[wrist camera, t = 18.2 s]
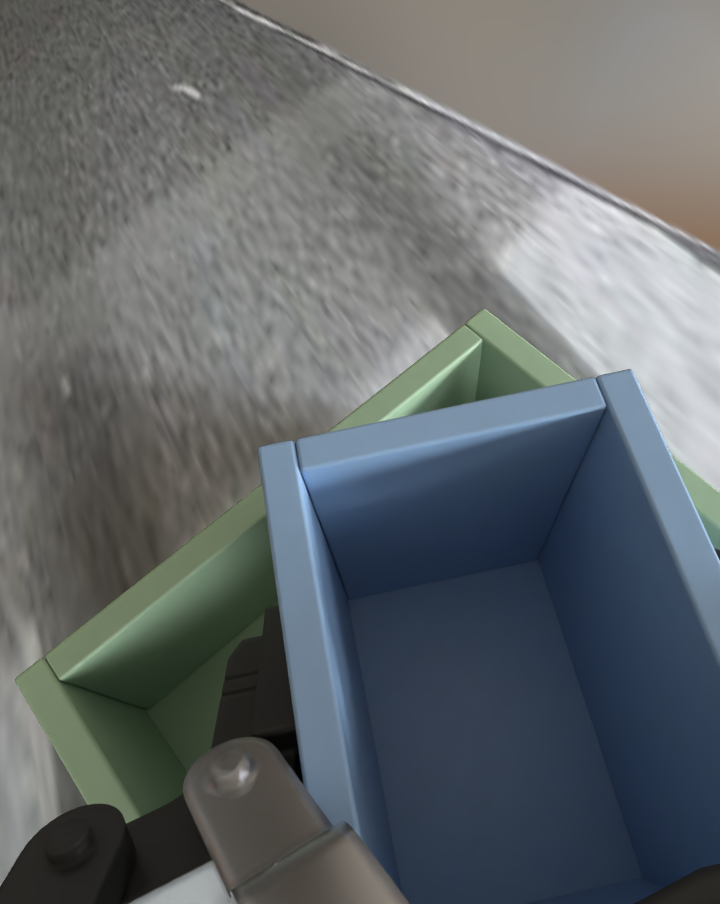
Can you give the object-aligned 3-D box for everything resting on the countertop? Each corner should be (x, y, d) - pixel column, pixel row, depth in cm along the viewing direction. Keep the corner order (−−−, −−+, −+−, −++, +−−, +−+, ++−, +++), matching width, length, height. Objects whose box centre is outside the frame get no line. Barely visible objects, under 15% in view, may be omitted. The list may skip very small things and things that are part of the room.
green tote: (470, 1247, 14) (499, 1512, 9) (123, 712, 19) (12, 679, 14) (858, 763, 17) (1046, 746, 12) (470, 421, 22) (484, 306, 17)
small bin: (387, 964, 14) (349, 1127, 7) (323, 589, 18) (255, 445, 11) (673, 901, 14) (922, 999, 7) (550, 541, 18) (632, 366, 11)
